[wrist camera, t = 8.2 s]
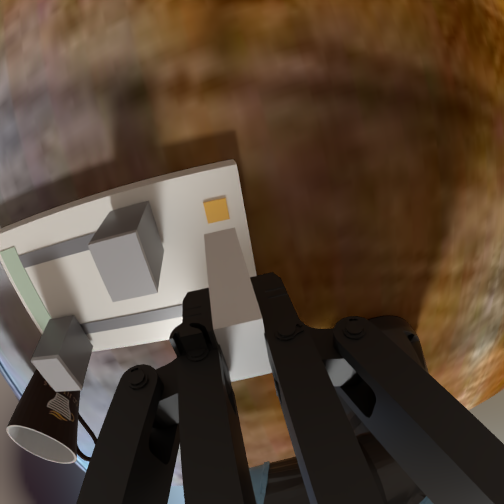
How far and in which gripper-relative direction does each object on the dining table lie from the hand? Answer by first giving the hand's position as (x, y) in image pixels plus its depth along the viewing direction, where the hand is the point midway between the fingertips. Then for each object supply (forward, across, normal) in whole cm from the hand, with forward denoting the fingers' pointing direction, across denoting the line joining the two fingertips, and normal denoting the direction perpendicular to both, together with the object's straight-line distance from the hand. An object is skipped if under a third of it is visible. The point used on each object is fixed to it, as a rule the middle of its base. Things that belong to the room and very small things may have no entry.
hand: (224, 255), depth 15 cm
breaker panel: (+9, +9, +4) cm, 14 cm away
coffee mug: (+9, +25, +19) cm, 33 cm away
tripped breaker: (+7, +6, 0) cm, 9 cm away
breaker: (+7, +16, +8) cm, 19 cm away
